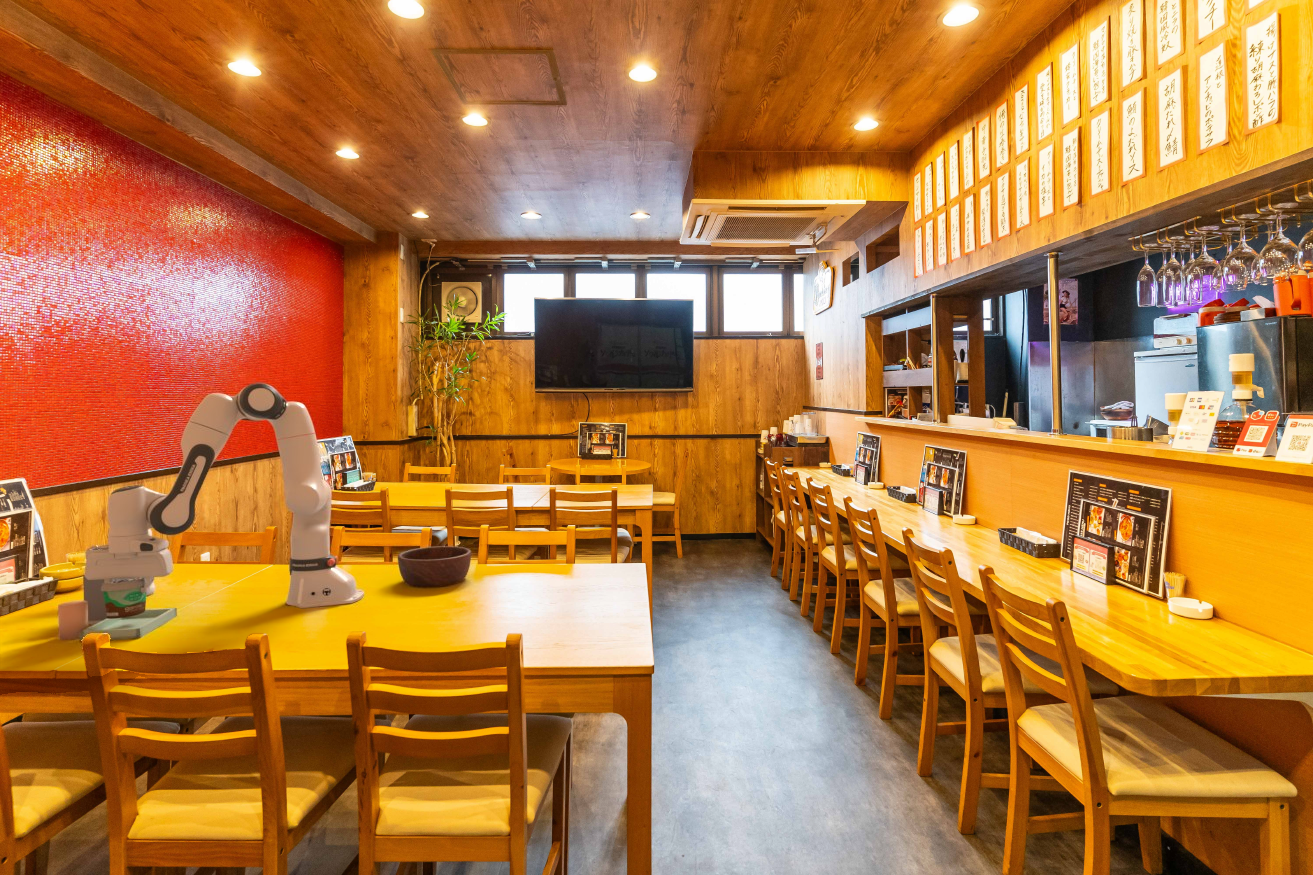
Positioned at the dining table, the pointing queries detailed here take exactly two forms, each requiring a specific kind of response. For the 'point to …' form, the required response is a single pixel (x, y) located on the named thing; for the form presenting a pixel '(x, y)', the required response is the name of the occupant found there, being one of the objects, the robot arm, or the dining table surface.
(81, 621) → the canister
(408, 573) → the wooden bowl
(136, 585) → the food container
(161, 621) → the tray
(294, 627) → the dining table surface
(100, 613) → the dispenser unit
